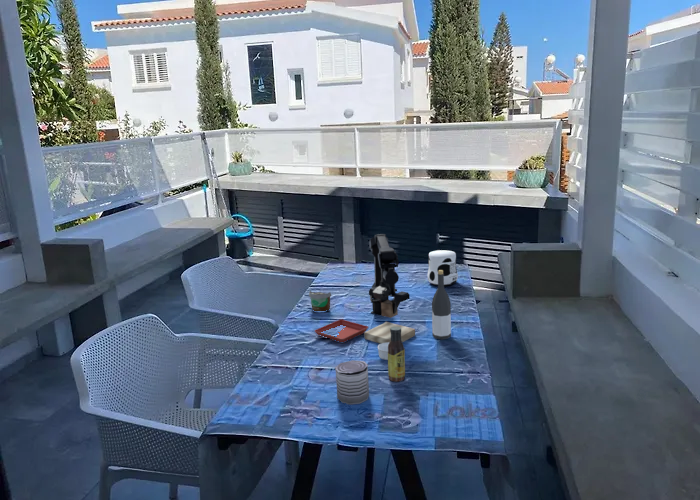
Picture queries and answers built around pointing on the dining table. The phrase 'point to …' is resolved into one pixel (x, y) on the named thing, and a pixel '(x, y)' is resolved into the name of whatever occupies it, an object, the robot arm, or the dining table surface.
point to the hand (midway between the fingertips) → (389, 312)
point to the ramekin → (383, 350)
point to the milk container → (442, 267)
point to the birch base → (387, 333)
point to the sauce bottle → (396, 356)
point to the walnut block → (388, 309)
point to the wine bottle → (441, 311)
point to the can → (352, 382)
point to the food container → (320, 301)
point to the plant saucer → (347, 333)
